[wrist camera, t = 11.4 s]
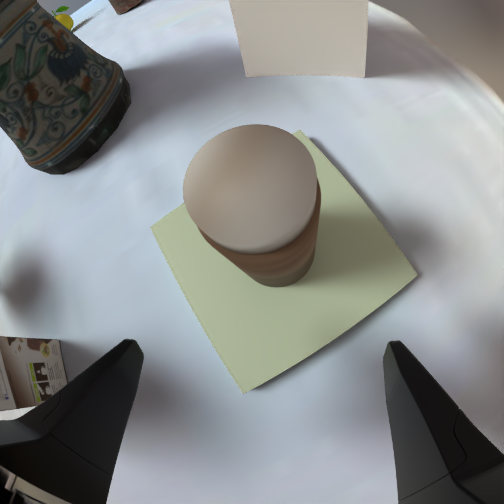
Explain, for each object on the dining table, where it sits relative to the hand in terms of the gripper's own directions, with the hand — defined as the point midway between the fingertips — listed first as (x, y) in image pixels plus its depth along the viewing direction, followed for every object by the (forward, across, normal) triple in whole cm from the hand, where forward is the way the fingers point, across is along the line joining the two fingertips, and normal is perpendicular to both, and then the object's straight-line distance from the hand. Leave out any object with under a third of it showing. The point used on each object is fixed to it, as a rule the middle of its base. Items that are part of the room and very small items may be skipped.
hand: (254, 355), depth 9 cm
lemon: (+55, +50, -41) cm, 85 cm away
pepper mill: (+10, 0, +2) cm, 10 cm away
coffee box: (+3, +24, +11) cm, 27 cm away
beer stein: (+24, +26, -10) cm, 37 cm away
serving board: (+11, 0, +3) cm, 12 cm away
